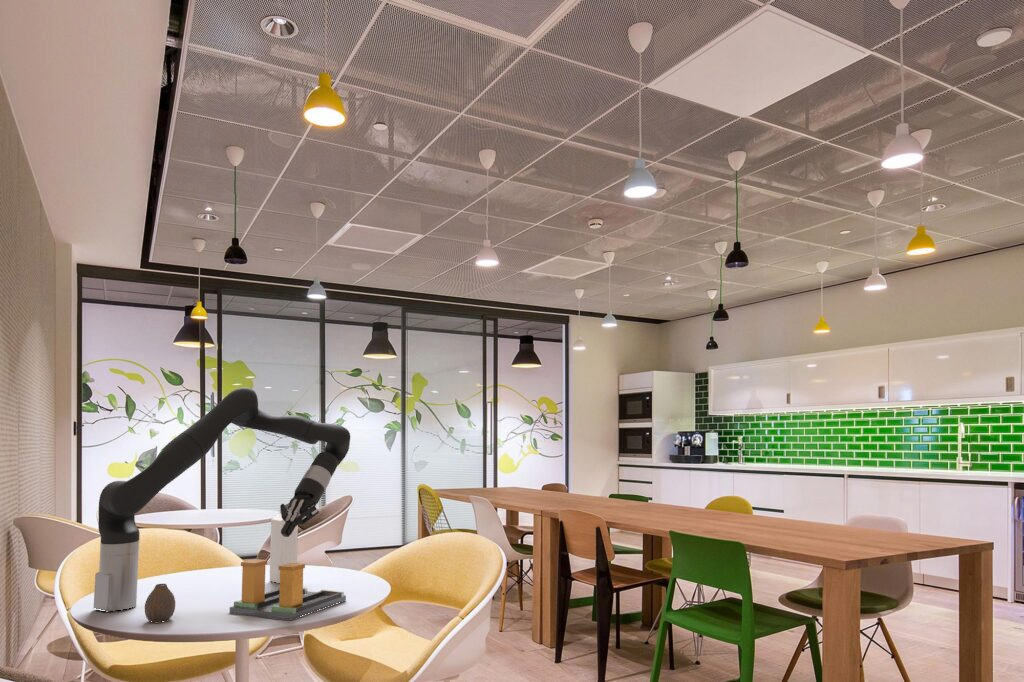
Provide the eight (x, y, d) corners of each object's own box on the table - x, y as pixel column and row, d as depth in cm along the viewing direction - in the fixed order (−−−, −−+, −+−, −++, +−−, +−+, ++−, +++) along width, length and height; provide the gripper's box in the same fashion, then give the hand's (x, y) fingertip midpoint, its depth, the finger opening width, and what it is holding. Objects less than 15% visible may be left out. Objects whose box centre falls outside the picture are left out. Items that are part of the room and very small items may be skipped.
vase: (179, 617, 186) (180, 581, 187) (167, 624, 180) (169, 587, 180) (151, 617, 186) (153, 581, 187) (138, 624, 179) (140, 587, 180)
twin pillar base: (290, 620, 181) (291, 568, 183) (229, 613, 190) (231, 563, 191) (345, 601, 201) (346, 554, 203) (288, 594, 210) (289, 549, 211)
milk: (279, 584, 224) (280, 510, 226) (269, 581, 228) (270, 509, 231) (297, 580, 229) (298, 508, 231) (286, 578, 233) (288, 507, 235)
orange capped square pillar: (253, 607, 189) (254, 563, 190) (239, 605, 191) (241, 562, 192) (266, 603, 193) (267, 560, 194) (252, 601, 195) (253, 559, 196)
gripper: (337, 493, 216) (309, 544, 204) (301, 491, 221) (272, 541, 209) (325, 477, 211) (296, 528, 199) (289, 475, 217) (259, 525, 205)
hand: (284, 535), depth 204 cm, fingers closed
